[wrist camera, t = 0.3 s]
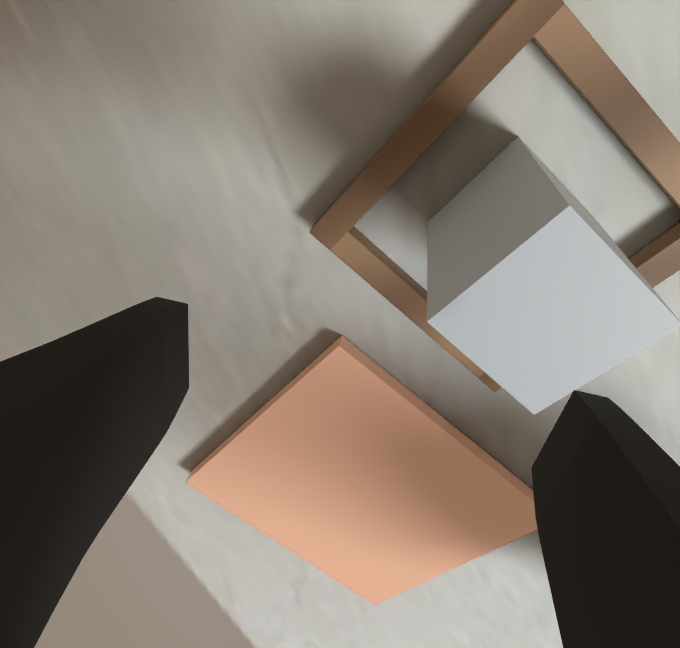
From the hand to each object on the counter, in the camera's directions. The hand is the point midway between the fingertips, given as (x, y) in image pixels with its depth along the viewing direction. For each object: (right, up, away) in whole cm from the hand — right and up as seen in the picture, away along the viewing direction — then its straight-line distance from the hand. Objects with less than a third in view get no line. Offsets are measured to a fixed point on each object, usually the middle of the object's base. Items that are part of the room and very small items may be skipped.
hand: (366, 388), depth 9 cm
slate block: (+5, +5, +8) cm, 11 cm away
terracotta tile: (+1, -7, +17) cm, 18 cm away
